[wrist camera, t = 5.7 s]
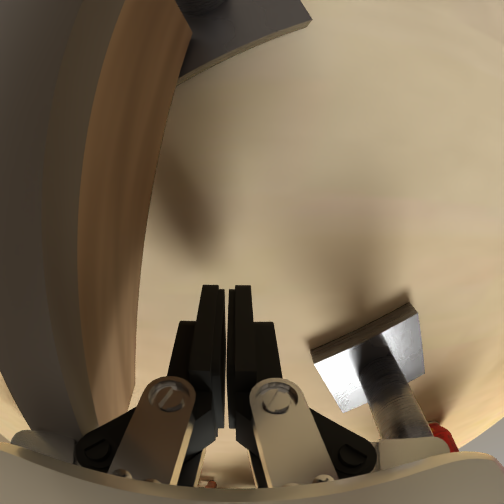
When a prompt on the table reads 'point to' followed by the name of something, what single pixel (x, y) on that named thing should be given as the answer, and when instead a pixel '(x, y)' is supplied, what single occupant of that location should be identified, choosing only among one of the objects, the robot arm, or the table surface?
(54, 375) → the gate
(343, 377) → the gate frame
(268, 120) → the table surface
